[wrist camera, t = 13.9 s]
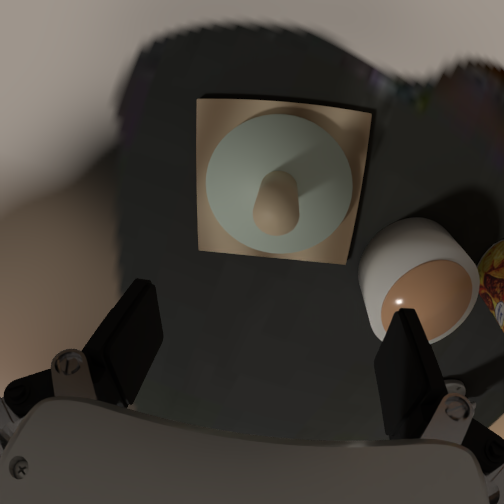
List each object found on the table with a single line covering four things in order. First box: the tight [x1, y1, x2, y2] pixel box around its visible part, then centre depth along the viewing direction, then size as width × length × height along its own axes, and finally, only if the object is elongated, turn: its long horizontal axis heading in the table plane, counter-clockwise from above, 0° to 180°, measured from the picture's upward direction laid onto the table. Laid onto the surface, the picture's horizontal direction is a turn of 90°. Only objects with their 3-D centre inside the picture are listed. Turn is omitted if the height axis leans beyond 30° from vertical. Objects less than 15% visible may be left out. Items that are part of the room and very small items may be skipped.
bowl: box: [358, 217, 480, 344], centre depth 25 cm, size 11×11×6 cm
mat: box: [196, 99, 372, 265], centre depth 25 cm, size 14×14×1 cm
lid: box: [206, 114, 353, 254], centre depth 22 cm, size 12×12×6 cm
